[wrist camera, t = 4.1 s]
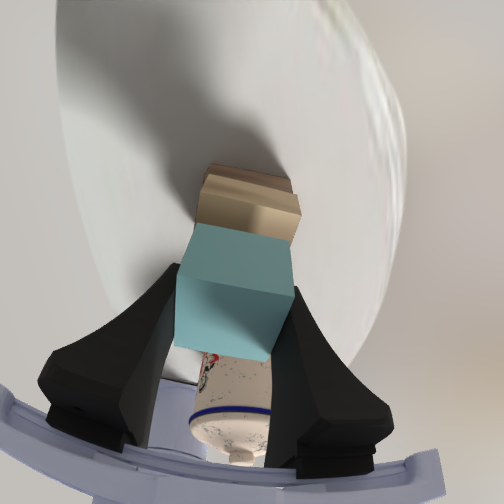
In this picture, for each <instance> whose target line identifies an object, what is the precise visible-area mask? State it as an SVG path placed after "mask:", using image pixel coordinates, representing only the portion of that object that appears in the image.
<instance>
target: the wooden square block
mask: <svg viewBox="0 0 504 504" xmlns="http://www.w3.org/2000/svg"><path fill="white" fill-rule="evenodd" d="M209 174H212V175H217V176H221V177H226V178H230V179H235V180H239V181H243V182H248V183H252V184H256V185H260V186H264V187H268V188H272V189H276V190H280V191H284V192H288V193H292V194H293V191H292V186H291V181H290V179H287V178H283V177H278V176H273V175H269V174H264V173H259V172H254V171H249V170H244V169H238V168H233V167H228V166H222V165H216V164H210V166H209V168H208V170H207V172H206V174H205V176H204V182H203V185H204V183H205V181H206V179H207V177H208V175H209Z"/></svg>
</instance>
